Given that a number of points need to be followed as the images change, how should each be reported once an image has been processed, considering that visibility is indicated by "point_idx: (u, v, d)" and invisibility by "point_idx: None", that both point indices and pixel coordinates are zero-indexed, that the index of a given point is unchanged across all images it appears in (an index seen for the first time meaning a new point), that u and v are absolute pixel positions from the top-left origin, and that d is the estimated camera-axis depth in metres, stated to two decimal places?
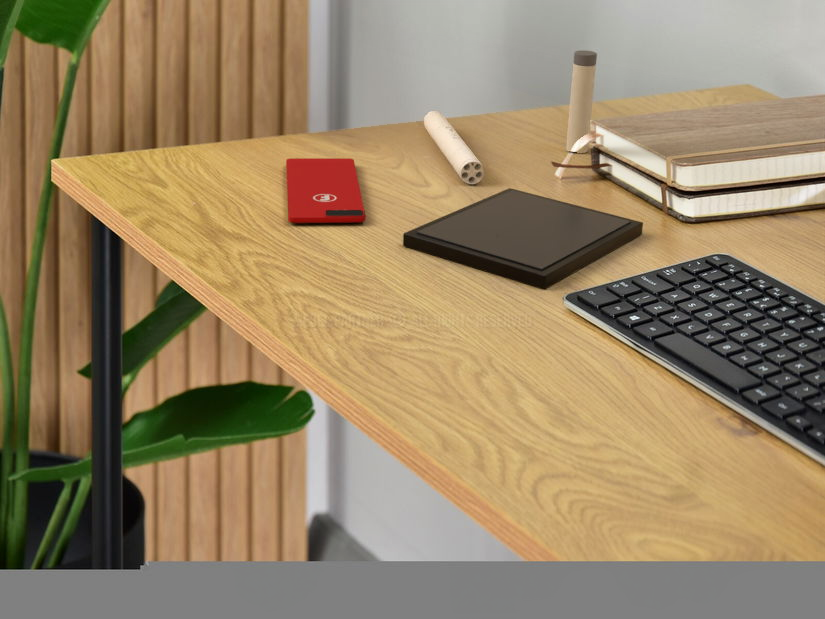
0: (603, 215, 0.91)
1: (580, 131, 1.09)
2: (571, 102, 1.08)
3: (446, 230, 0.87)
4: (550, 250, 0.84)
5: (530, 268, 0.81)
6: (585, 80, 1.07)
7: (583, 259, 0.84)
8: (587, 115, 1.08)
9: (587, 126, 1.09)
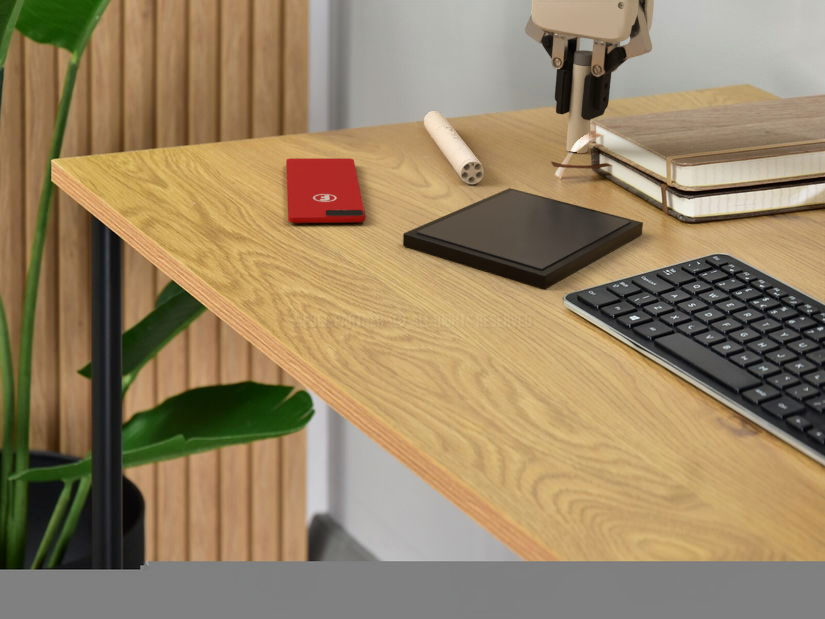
0: (603, 215, 0.91)
1: (580, 131, 1.09)
2: (571, 102, 1.08)
3: (446, 230, 0.87)
4: (550, 250, 0.84)
5: (530, 268, 0.81)
6: None
7: (583, 259, 0.84)
8: None
9: (587, 126, 1.09)
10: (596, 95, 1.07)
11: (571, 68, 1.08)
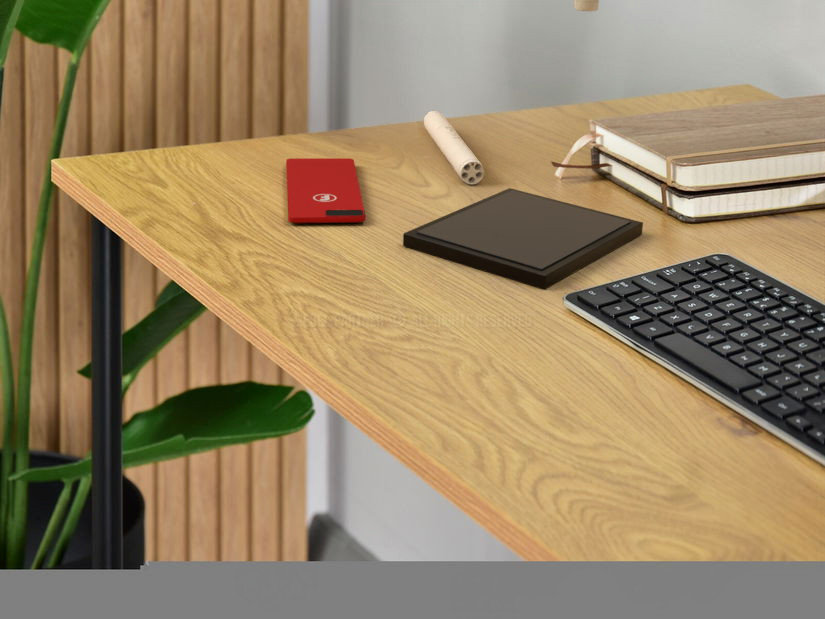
0: (603, 215, 0.91)
1: None
2: None
3: (446, 230, 0.87)
4: (550, 250, 0.84)
5: (530, 268, 0.81)
6: None
7: (583, 259, 0.84)
8: None
9: None
10: None
11: None
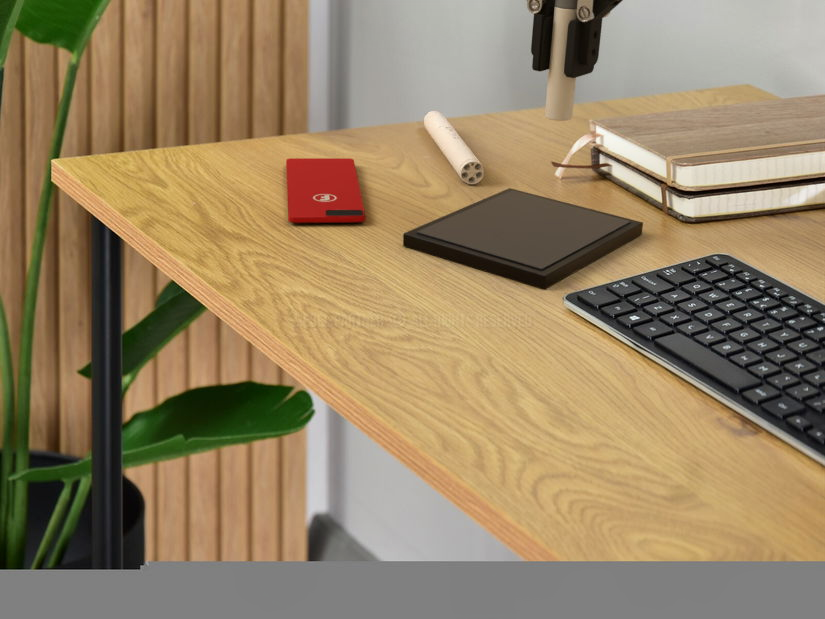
0: (603, 215, 0.91)
1: (562, 92, 0.86)
2: (551, 56, 0.86)
3: (446, 230, 0.87)
4: (550, 250, 0.84)
5: (530, 268, 0.81)
6: None
7: (583, 259, 0.84)
8: None
9: (571, 86, 0.86)
10: (583, 46, 0.84)
11: (552, 13, 0.86)
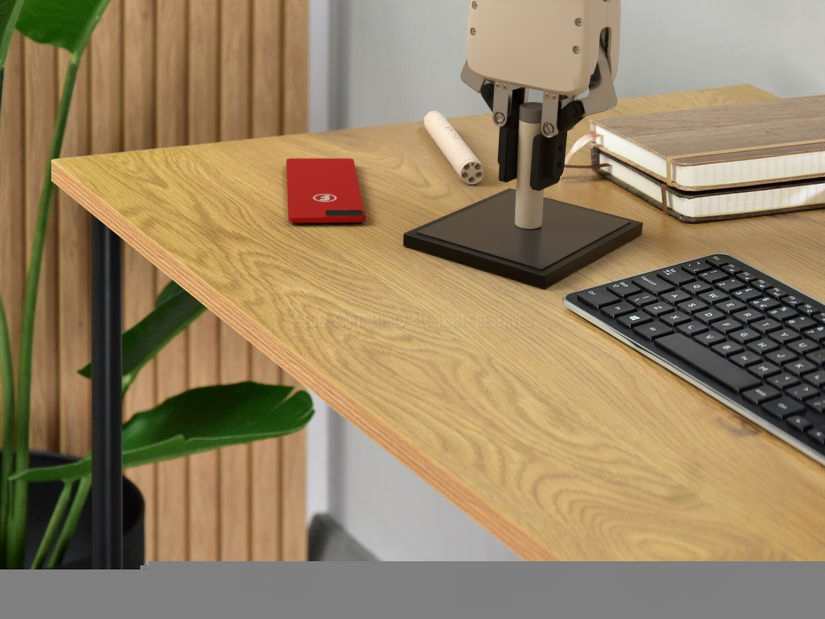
0: (603, 215, 0.91)
1: (531, 202, 0.87)
2: (518, 167, 0.86)
3: (446, 230, 0.87)
4: (550, 250, 0.84)
5: (530, 268, 0.81)
6: None
7: (583, 259, 0.84)
8: None
9: (539, 196, 0.87)
10: (548, 160, 0.85)
11: (517, 125, 0.86)
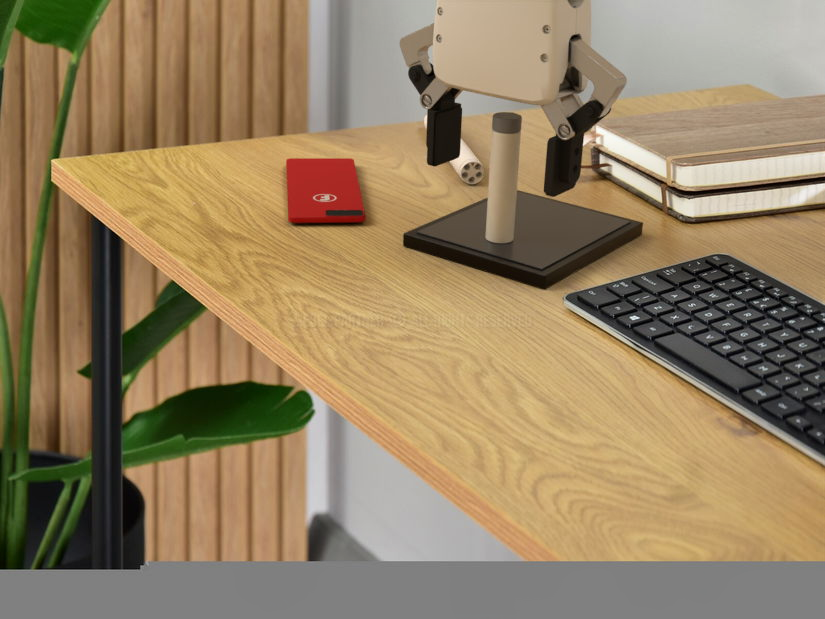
0: (603, 215, 0.91)
1: (502, 216, 0.84)
2: (490, 179, 0.84)
3: (446, 230, 0.87)
4: (550, 250, 0.84)
5: (530, 268, 0.81)
6: (507, 151, 0.82)
7: (583, 259, 0.84)
8: (511, 195, 0.84)
9: (510, 209, 0.84)
10: (563, 164, 0.79)
11: (445, 108, 0.84)
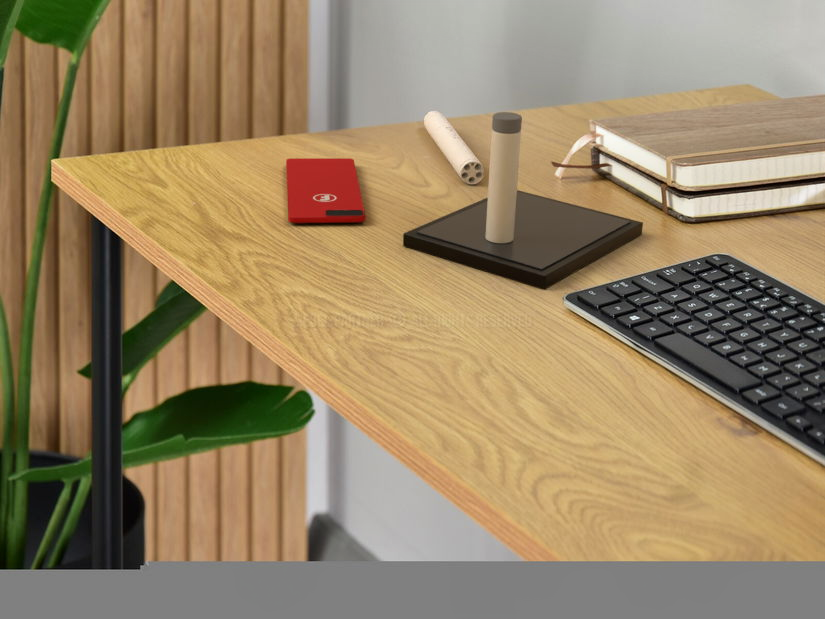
0: (603, 215, 0.91)
1: (502, 216, 0.84)
2: (490, 179, 0.84)
3: (446, 230, 0.87)
4: (550, 250, 0.84)
5: (530, 268, 0.81)
6: (507, 151, 0.82)
7: (583, 259, 0.84)
8: (511, 195, 0.84)
9: (510, 209, 0.84)
10: None
11: None
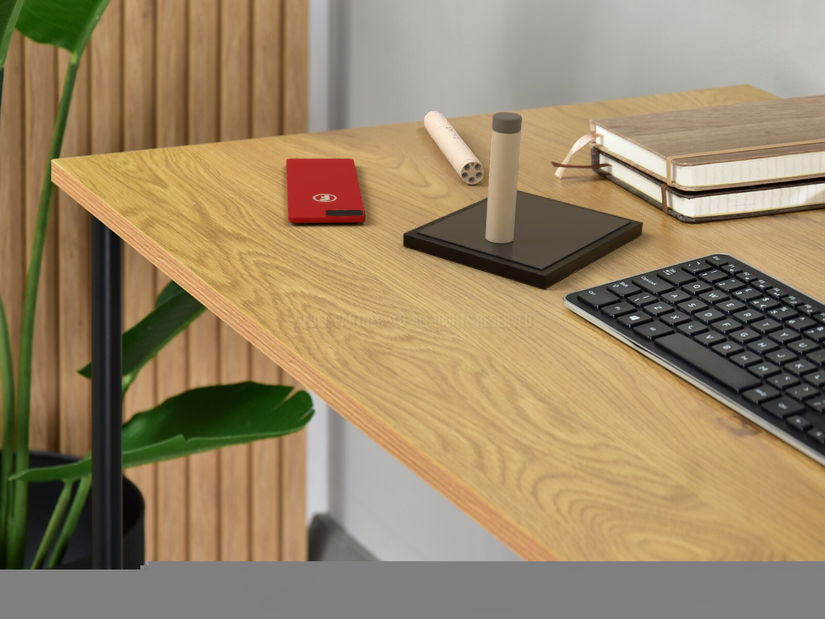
0: (603, 215, 0.91)
1: (502, 216, 0.84)
2: (490, 179, 0.84)
3: (446, 230, 0.87)
4: (550, 250, 0.84)
5: (530, 268, 0.81)
6: (507, 151, 0.82)
7: (583, 259, 0.84)
8: (511, 195, 0.84)
9: (510, 209, 0.84)
10: None
11: None
